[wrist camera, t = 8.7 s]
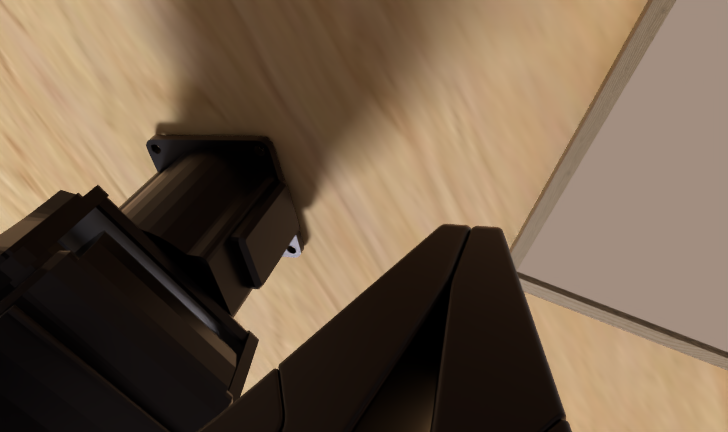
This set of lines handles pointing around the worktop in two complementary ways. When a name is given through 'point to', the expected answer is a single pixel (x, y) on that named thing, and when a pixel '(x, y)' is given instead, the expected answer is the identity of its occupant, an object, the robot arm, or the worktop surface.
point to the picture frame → (645, 190)
